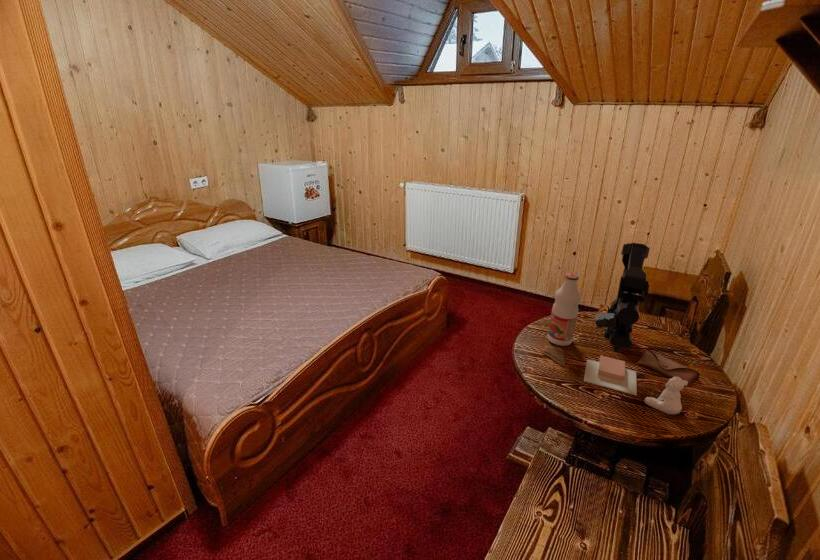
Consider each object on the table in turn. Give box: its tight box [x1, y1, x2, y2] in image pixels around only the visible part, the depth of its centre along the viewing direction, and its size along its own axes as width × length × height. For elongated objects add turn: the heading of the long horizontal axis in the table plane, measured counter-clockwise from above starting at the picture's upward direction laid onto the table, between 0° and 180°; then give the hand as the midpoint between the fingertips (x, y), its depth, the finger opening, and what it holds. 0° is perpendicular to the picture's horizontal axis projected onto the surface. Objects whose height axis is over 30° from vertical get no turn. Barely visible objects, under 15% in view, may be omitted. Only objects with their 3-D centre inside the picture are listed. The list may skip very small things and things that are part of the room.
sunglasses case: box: [636, 349, 700, 388], centre depth 142 cm, size 18×7×7 cm, turn 38°
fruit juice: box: [547, 272, 582, 347], centre depth 155 cm, size 9×9×28 cm
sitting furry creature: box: [644, 377, 688, 415], centre depth 122 cm, size 10×9×12 cm
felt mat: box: [583, 358, 638, 397], centre depth 139 cm, size 14×16×1 cm
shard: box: [542, 345, 566, 367], centre depth 149 cm, size 11×8×2 cm
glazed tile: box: [597, 354, 626, 383], centre depth 140 cm, size 2×8×10 cm
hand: (615, 351), depth 138 cm, fingers closed
